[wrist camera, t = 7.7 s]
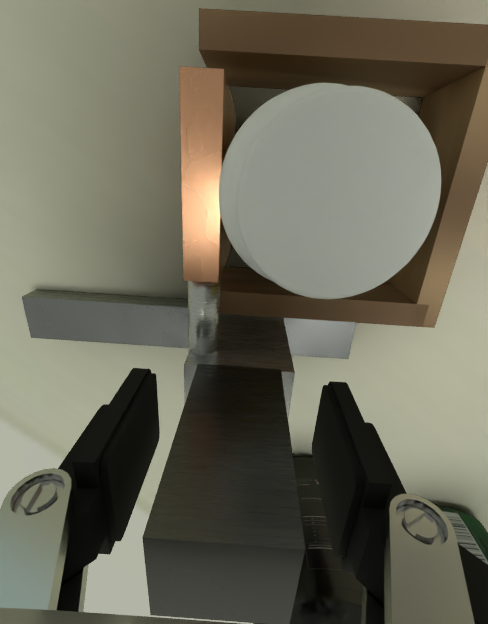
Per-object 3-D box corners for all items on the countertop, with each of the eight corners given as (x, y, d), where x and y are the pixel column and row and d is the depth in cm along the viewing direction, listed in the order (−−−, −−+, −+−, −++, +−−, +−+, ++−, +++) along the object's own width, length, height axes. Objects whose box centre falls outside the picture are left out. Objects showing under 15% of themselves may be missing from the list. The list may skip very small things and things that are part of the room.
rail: (36, 289, 18) (21, 296, 16) (350, 310, 17) (356, 318, 16) (44, 328, 18) (31, 337, 17) (342, 348, 18) (348, 358, 17)
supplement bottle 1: (222, 138, 14) (169, 67, 5) (342, 113, 14) (508, -15, 5) (243, 254, 16) (230, 345, 7) (349, 236, 16) (475, 309, 7)
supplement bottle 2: (321, 528, 24) (374, 815, 13) (239, 503, 24) (224, 785, 13) (366, 469, 22) (478, 763, 11) (276, 439, 21) (299, 722, 10)
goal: (214, 56, 13) (199, 8, 10) (453, 70, 13) (530, 27, 9) (211, 283, 17) (198, 312, 13) (395, 295, 17) (434, 327, 13)
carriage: (208, 109, 14) (-16, -228, 2) (303, 115, 14) (529, -198, 2) (205, 343, 18) (123, 613, 7) (277, 348, 18) (312, 627, 7)
